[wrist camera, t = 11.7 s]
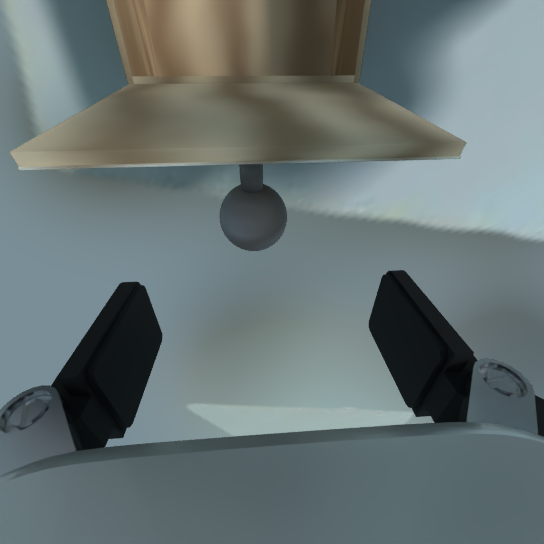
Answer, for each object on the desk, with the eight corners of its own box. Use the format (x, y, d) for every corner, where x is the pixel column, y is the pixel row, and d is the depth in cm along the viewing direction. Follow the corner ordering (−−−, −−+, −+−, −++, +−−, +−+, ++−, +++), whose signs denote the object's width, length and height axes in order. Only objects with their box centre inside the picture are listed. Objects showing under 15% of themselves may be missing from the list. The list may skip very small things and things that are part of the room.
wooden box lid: (470, 144, 12) (413, 257, 16) (358, 82, 23) (343, 158, 28) (4, 154, 10) (85, 272, 15) (129, 83, 22) (153, 163, 26)
